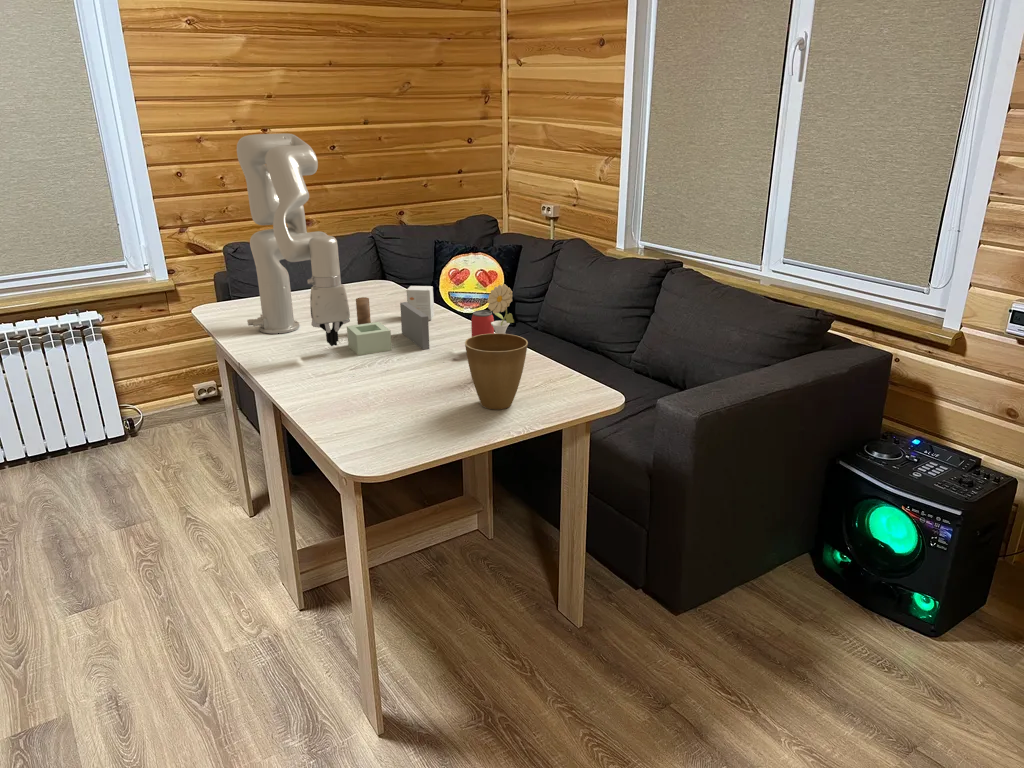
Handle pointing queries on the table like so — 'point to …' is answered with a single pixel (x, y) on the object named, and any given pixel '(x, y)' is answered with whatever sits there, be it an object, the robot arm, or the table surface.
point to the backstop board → (415, 325)
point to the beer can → (482, 323)
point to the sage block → (369, 338)
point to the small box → (421, 299)
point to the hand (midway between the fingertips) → (332, 344)
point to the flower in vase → (500, 307)
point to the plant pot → (496, 367)
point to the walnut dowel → (363, 310)
